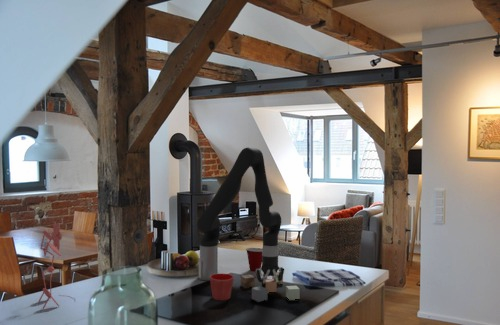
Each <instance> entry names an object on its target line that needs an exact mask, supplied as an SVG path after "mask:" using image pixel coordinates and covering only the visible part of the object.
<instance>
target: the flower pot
mask: <svg viewBox="0 0 500 325" xmlns="http://www.w3.org/2000/svg"><path fill="white" fill-rule="evenodd" d="M209 282H210V287H211V294H212V295H211V296H212V299H213V300H214V301H215V300H216V301H228V300H229V299H230V298H231V295H232V289H233V283H234V275H232V274H230V273H218V274H213V275H211V276H210V280H209Z"/></svg>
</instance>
